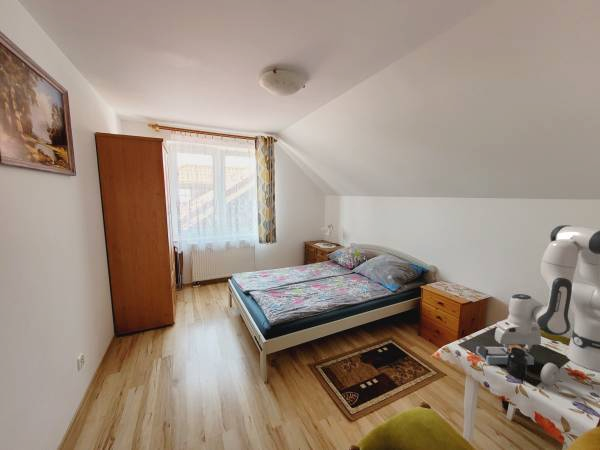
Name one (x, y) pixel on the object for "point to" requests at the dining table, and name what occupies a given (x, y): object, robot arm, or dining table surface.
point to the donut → (549, 374)
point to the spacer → (515, 347)
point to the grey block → (490, 351)
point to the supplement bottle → (517, 363)
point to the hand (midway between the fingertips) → (516, 351)
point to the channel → (503, 357)
